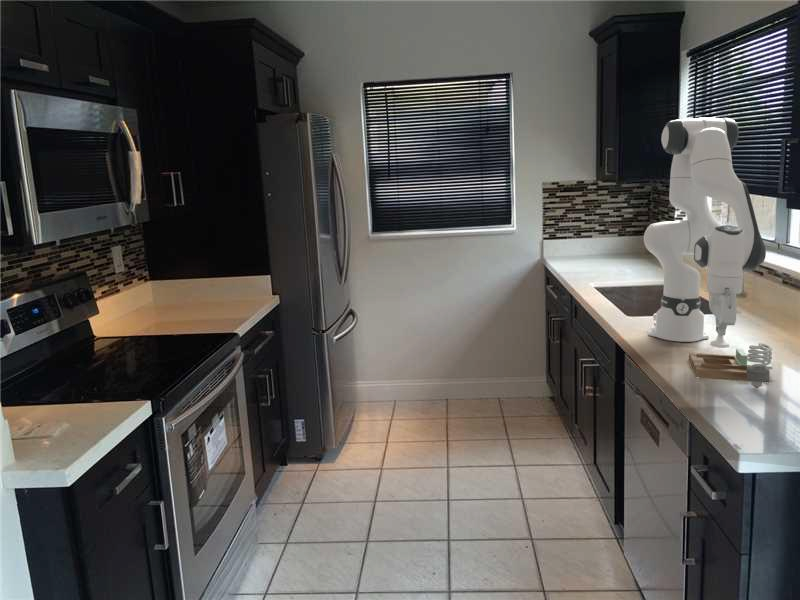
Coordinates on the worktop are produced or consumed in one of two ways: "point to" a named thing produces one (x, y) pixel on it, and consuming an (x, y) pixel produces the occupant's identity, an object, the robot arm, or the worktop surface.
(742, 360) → the cover
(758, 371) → the light bulb
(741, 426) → the worktop surface
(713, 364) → the board
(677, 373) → the worktop surface
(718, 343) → the chess piece
